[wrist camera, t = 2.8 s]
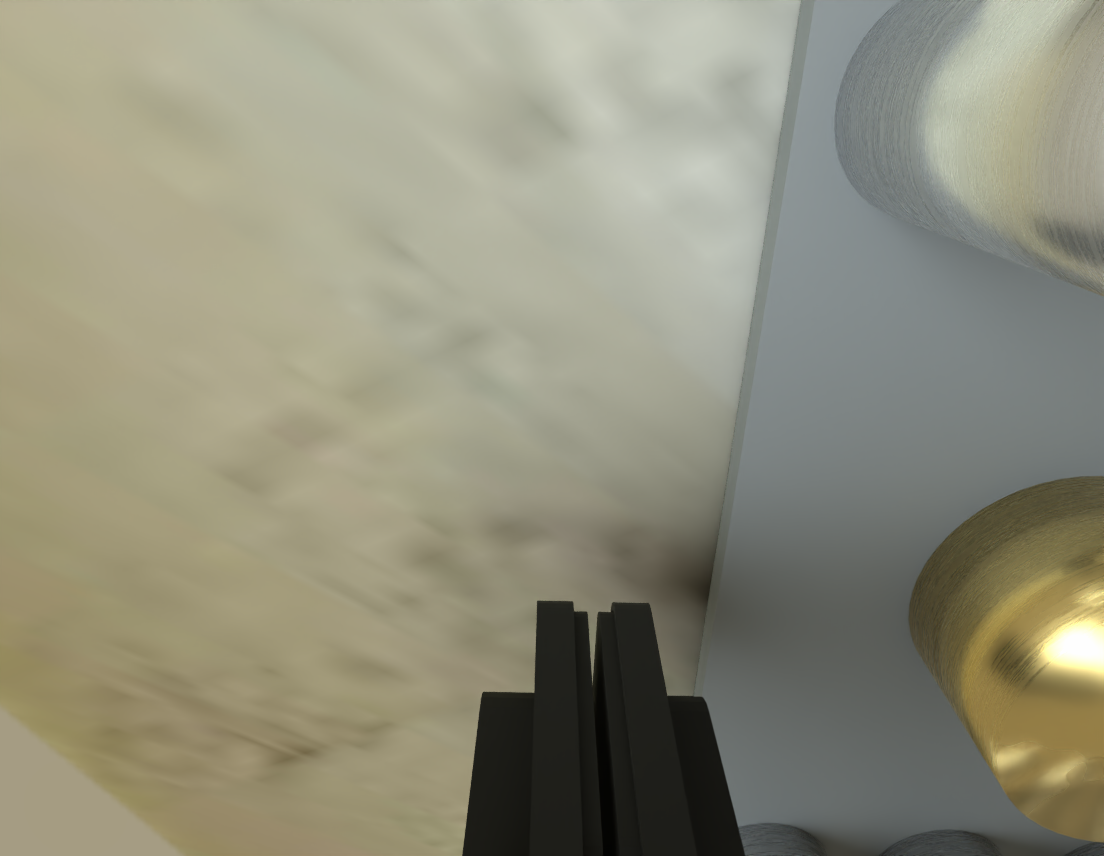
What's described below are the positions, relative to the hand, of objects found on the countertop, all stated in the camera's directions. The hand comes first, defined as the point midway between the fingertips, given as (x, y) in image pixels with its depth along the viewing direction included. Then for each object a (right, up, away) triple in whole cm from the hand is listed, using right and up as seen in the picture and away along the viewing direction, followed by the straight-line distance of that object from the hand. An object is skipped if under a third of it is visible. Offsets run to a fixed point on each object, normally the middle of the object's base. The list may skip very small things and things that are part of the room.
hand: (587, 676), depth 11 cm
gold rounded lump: (+8, +1, +2) cm, 9 cm away
